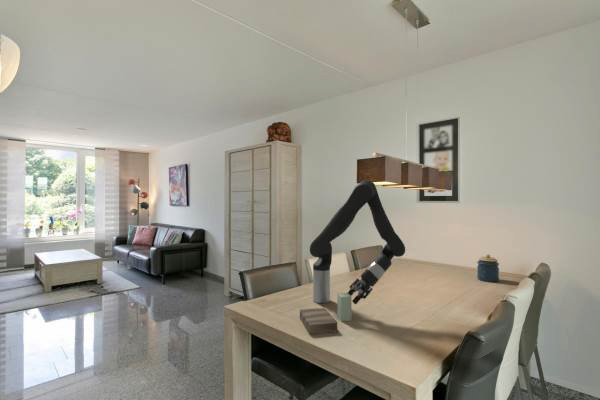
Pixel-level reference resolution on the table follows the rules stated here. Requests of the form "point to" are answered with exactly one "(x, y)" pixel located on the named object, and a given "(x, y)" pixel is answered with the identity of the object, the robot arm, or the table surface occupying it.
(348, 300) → the sage block
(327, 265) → the robot arm
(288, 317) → the table surface
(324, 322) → the walnut base
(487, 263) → the canister
